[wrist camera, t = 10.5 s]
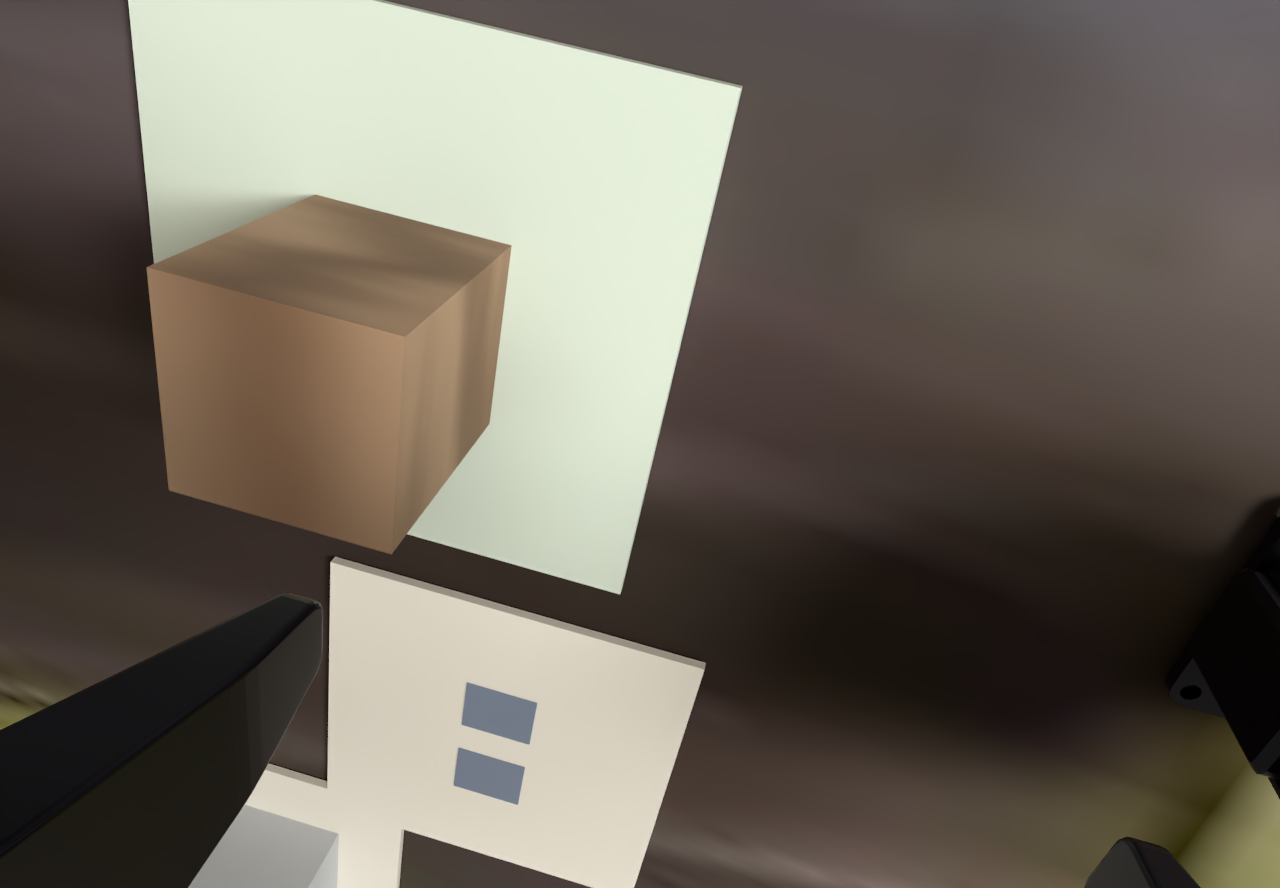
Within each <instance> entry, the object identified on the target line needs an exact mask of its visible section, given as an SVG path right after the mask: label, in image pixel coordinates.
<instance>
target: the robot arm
mask: <svg viewBox="0 0 1280 888" xmlns="http://www.w3.org/2000/svg"><path fill="white" fill-rule="evenodd" d="M322 652H323V609H322V606H321V604H320V603H319V602H318V601H316V600H314V599H310V598H307V597H303V596H300V595H296V594H293V593H284V594H280V595H278V596H276V597H274V598H272V599H270V600H268V601H266V602H264V603H261V604H259V605H257V606H255V607H253V608H251V609H249V610H247V611H245V612H243V613H241V614H239V615H237V616H235V617H233V618H231V619H229V620H226V621H224V622H222V623H220V624H218V625H216V626H214V627H212V628H210V629H208V630H206V631H204V632H202V633H200V634H198V635H196V636H193V637H191V638H189V639H187V640H185V641H183V642H181V643H179V644H177V645H175V646H173V647H171V648H169V649H167V650H165V651H163V652H160V653H158V654H156V655H154V656H152V657H150V658H148V659H146V660H144V661H142V662H140V663H138V664H136V665H134V666H132V667H130V668H127V669H125V670H123V671H121V672H119V673H117V674H115V675H113V676H111V677H109V678H107V679H105V680H103V681H101V682H99V683H97V684H94V685H92V686H90V687H88V688H86V689H84V690H82V691H80V692H78V693H76V694H74V695H72V696H70V697H68V698H66V699H64V700H61V701H59V702H57V703H55V704H53V705H51V706H49V707H47V708H45V709H43V710H41V711H39V712H37V713H35V714H33V715H31V716H29V717H26V718H24V719H22V720H20V721H18V722H16V723H14V724H12V725H10V726H8V727H6V728H4V729H2V730H0V888H188V887H189V886H190V884H191V883H192V881H193V880H194V878H195V877H196V875H197V874H198V873H199V871H200V870H201V868H202V867H203V865H204V864H205V862H206V861H207V859H208V858H209V856H210V855H211V853H212V852H213V851H214V849H215V848H216V846H217V845H218V843H219V842H220V840H221V839H222V837H223V836H224V834H225V833H226V831H227V830H228V829H229V827H230V826H231V824H232V823H233V821H234V820H235V818H236V817H237V815H238V814H239V812H240V811H241V809H242V808H243V806H244V805H245V803H246V802H247V800H248V798H249V797H250V795H251V794H252V792H253V790H254V789H255V787H256V785H257V783H258V781H259V780H260V778H261V776H262V774H263V773H264V771H265V769H266V767H267V765H268V763H269V761H270V759H271V758H272V756H273V754H274V752H275V750H276V748H277V746H278V745H279V743H280V741H281V739H282V737H283V735H284V733H285V732H286V730H287V728H288V726H289V724H290V722H291V720H292V719H293V717H294V715H295V713H296V711H297V709H298V707H299V705H300V704H301V702H302V700H303V698H304V696H305V694H306V692H307V691H308V689H309V687H310V685H311V683H312V681H313V679H314V678H315V676H316V674H317V671H318V669H319V666H320V663H321V659H322ZM1189 685H1194V686H1193V687H1191V688H1188V689H1182V688H1184V687H1185V686H1189ZM1165 687H1166V690H1167V692H1168V694H1169V696H1170V698H1171V699H1172V700H1173V701H1174V702H1175V703H1177V704H1179V705H1181V706H1184V707H1188V708H1191V709H1195V710H1199V711H1202V712H1206V713H1209V714H1213V715H1216V716H1220V717H1224V718H1226V720H1227V722H1228V724H1229V726H1230V728H1231V730H1232V732H1233V733H1234V735H1235V737H1236V739H1237V741H1238V743H1239V745H1240V747H1241V748H1242V750H1243V752H1244V754H1245V756H1246V758H1247V760H1248V762H1249V763H1250V765H1251V767H1252V769H1253V770H1254V771H1255V772H1256V774H1260V775H1263V776H1267V777H1268V779H1269V780H1270V782H1271V784H1272V786H1273V788H1274V790H1275V791H1276V793H1277V795H1278V797H1279V799H1280V517H1279V519H1278V520H1277V521H1276V523H1275V524H1274V526H1273V527H1272V528H1271V530H1270V531H1269V533H1268V534H1267V536H1266V537H1265V538H1264V540H1263V541H1262V543H1261V544H1260V545H1259V547H1258V548H1257V550H1256V551H1255V552H1254V554H1253V555H1252V557H1251V558H1250V560H1249V561H1248V562H1247V564H1246V565H1245V567H1244V568H1243V569H1242V571H1241V572H1239V573H1238V574H1236V576H1235V577H1234V578H1233V580H1232V581H1231V583H1230V584H1229V585H1228V587H1227V588H1226V590H1225V591H1224V592H1223V594H1222V595H1221V597H1220V598H1219V600H1218V601H1217V602H1216V604H1215V605H1214V607H1213V608H1212V609H1211V611H1210V612H1209V614H1208V615H1207V617H1206V618H1205V619H1204V621H1203V622H1202V624H1201V625H1200V626H1199V628H1198V629H1197V631H1196V632H1195V634H1194V635H1193V636H1192V638H1191V639H1190V641H1189V642H1188V647H1187V648H1186V650H1185V651H1184V653H1183V654H1182V655H1181V657H1180V658H1179V660H1178V661H1177V663H1176V664H1175V665H1174V667H1173V668H1172V670H1171V671H1170V672H1169V674H1168V675H1167V677H1166V679H1165ZM1084 888H1200V886H1199V885H1198V884H1197V883H1196V882H1195V881H1194V879H1193V878H1192V877H1191V876H1190V875H1189V874H1188V872H1187V871H1186V870H1185V869H1184V868H1183V867H1182V865H1181V864H1180V863H1179V862H1178V861H1177V860H1176V859H1175V857H1174V856H1173V855H1172V854H1171V853H1170V852H1169V851H1168V850H1166V849H1165V848H1163V847H1161V846H1159V845H1155V844H1152V843H1148V842H1145V841H1142V840H1138V839H1135V838H1131V837H1124V838H1122V839H1120V840H1118V841H1117V842H1116V843H1115V844H1114V845H1113V847H1112V848H1111V849H1110V851H1109V852H1108V853H1107V854H1106V856H1105V857H1104V858H1103V860H1102V861H1101V862H1100V864H1099V865H1098V866H1097V867H1096V869H1095V870H1094V871H1093V873H1092V874H1091V875H1090V876H1089V878H1088V880H1087V882H1086V884H1085V887H1084Z"/></svg>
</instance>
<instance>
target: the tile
mask: <svg viewBox="0 0 1280 888" xmlns="http://www.w3.org/2000/svg"><path fill="white" fill-rule="evenodd" d="M245 805H248V806H251V807H254V808H257V809H261V810H264V811H267V812H270V813H273V814H277V815H280V816H283V817H286V818H290V819H293V820H296V821H299V822H302V823H306V824H309V825H312V826H315V827H319V828H322V829H325V830H328V831H331V832H335V833H338V834H339V846H338V885H337V888H399V883H400V871H401V860H402V848H403V837H404V829H401V828H402V816H403V812H401V811H397V810H394V809H391V808H388V807H384V806H381V805H378V804H375V803H371V802H368V801H365V800H362V799H358V798H355V797H352V796H349V795H345V794H342V793H339V792H336V791H332V790H329V789H327V781H325V780H322V779H318V778H315V777H312V776H308V775H305V774H302V773H299V772H295V771H292V770H289V769H286V768H282V767H279V766H276V765H273V764H269V763H268V765H267V767H266V769H265V771H264V773H263V774H262V776H261V778H260V780H259V781H258V783H257V785H256V787H255V789H254V790H253V792H252V794H251V795H250V797H249V798H248V800H247V802H246V803H245Z"/></svg>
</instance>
